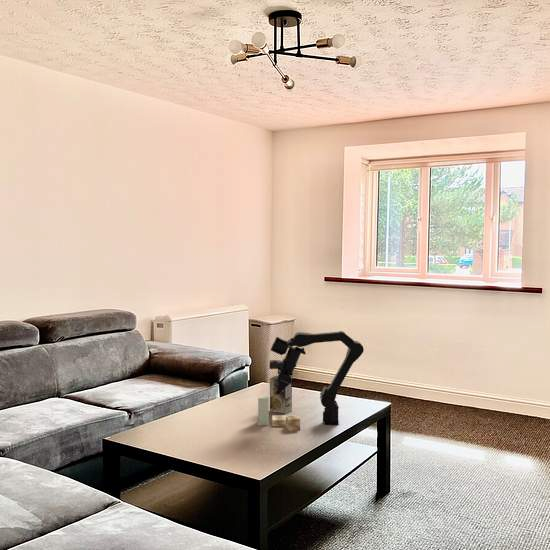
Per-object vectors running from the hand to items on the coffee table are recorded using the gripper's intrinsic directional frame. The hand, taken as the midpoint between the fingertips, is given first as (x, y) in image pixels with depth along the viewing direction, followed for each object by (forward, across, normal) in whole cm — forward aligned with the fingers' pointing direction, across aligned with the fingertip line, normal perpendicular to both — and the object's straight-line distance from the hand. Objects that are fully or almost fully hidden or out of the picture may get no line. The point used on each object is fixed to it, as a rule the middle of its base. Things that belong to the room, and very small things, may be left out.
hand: (277, 391), depth 265 cm
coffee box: (+13, -18, +7) cm, 23 cm away
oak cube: (+10, +9, +12) cm, 18 cm away
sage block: (+15, +2, 0) cm, 16 cm away
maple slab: (+13, +2, +7) cm, 15 cm away
